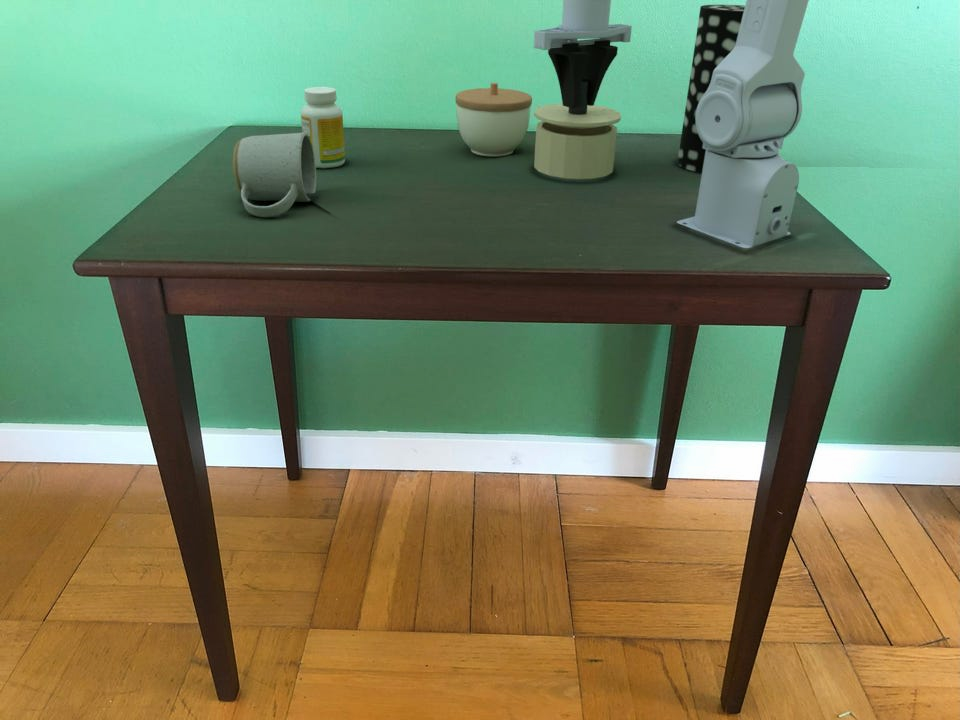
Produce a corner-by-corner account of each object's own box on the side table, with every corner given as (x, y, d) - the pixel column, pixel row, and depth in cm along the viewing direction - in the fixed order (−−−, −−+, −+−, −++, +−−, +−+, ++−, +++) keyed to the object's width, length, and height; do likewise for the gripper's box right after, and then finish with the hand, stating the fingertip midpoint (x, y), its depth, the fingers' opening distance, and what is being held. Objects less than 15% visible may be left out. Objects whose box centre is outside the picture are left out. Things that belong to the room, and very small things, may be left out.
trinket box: (523, 163, 106) (526, 93, 101) (447, 157, 107) (447, 88, 103) (534, 144, 115) (537, 78, 110) (464, 139, 117) (464, 74, 112)
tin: (628, 174, 102) (633, 129, 99) (570, 187, 97) (574, 140, 94) (575, 156, 109) (578, 114, 106) (518, 168, 104) (520, 123, 101)
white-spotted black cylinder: (716, 177, 102) (745, 12, 92) (665, 163, 107) (687, 6, 97) (750, 166, 107) (781, 9, 97) (700, 154, 112) (724, 3, 102)
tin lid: (638, 124, 99) (643, 83, 96) (574, 136, 93) (577, 92, 90) (579, 108, 107) (582, 69, 104) (516, 118, 101) (518, 77, 98)
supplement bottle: (298, 167, 102) (291, 92, 97) (314, 156, 107) (308, 84, 102) (337, 170, 101) (331, 94, 96) (351, 159, 106) (346, 86, 101)
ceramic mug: (251, 188, 94) (243, 124, 90) (319, 189, 94) (313, 125, 90) (228, 219, 85) (216, 150, 81) (302, 220, 85) (295, 151, 81)
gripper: (607, -16, 99) (597, 94, 105) (520, -13, 91) (515, 105, 98) (648, -12, 94) (635, 103, 100) (559, -8, 86) (551, 116, 93)
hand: (578, 105), depth 99 cm, fingers closed on tin lid, 2 cm apart
